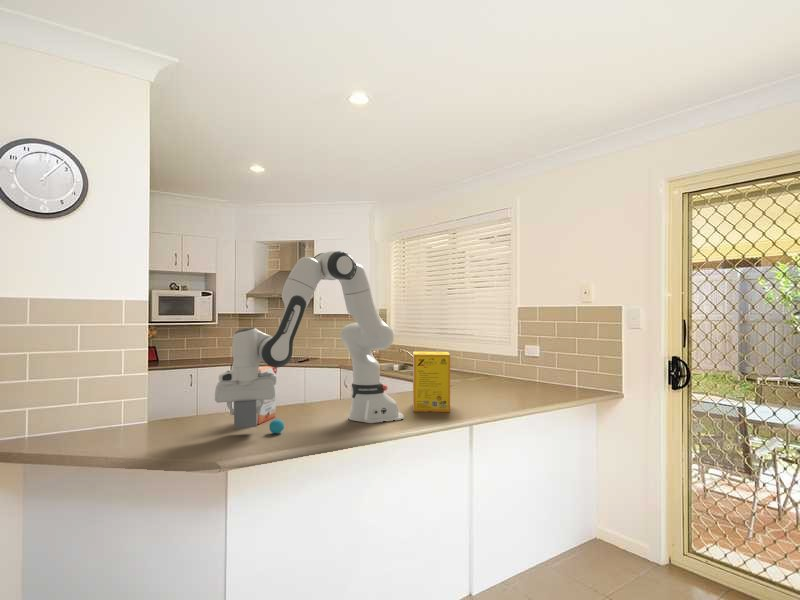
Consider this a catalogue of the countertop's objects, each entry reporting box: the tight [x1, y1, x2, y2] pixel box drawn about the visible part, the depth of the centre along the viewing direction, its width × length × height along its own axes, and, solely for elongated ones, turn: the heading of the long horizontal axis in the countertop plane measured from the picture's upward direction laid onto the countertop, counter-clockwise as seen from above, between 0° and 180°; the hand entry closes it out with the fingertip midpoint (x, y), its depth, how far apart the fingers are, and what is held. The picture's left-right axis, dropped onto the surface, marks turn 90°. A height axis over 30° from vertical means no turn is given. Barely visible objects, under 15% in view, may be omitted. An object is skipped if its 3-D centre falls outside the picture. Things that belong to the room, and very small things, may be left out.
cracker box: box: [257, 365, 278, 425], centre depth 187 cm, size 14×6×21 cm, turn 168°
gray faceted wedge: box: [233, 400, 258, 430], centre depth 164 cm, size 7×7×9 cm
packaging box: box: [412, 351, 451, 413], centre depth 214 cm, size 16×16×25 cm
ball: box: [269, 418, 285, 435], centre depth 166 cm, size 5×5×5 cm
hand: (245, 413), depth 164 cm, fingers closed on gray faceted wedge, 7 cm apart
